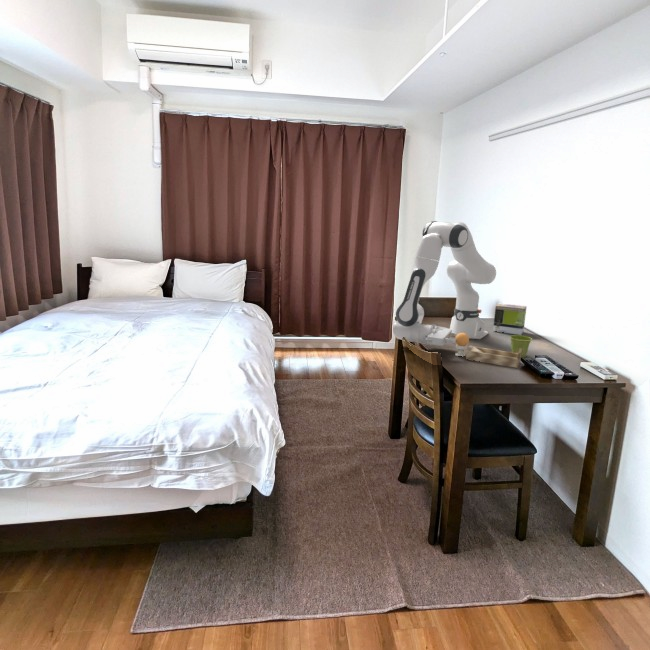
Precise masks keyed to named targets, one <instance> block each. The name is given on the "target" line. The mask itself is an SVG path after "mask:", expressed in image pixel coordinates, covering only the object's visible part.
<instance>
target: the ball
mask: <svg viewBox="0 0 650 650" xmlns="http://www.w3.org/2000/svg"><path fill="white" fill-rule="evenodd" d="M454 339H456V343H455V344H456V345H459V346H465V345H467V346H468V345H469V342H470V338H469V337H468V335H467V334H465V333H459V334H458V335H457V336H456V338H454Z"/></svg>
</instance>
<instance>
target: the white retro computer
mask: <svg viewBox="0 0 650 650" xmlns="http://www.w3.org/2000/svg"><path fill="white" fill-rule="evenodd" d="M526 313H527V306H526V305H520V304H519V305H518V304H511V303H502V302H498V303H497V304H496V305H495V311H494V319H493V326H492V327H493V329H492V332H495V331H497V332H498V333H502V332H504V334H511V335H522V334H523V333H524V329H525V321H526ZM497 332H496V333H497ZM522 336H523V335H522Z"/></svg>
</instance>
